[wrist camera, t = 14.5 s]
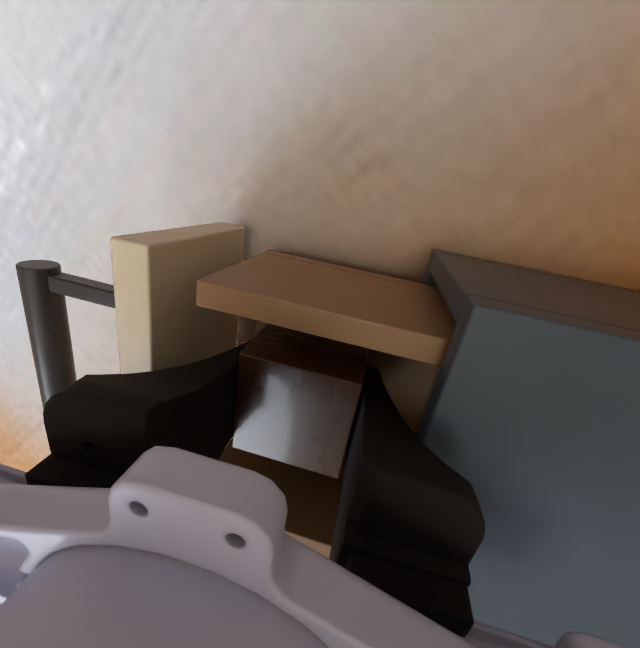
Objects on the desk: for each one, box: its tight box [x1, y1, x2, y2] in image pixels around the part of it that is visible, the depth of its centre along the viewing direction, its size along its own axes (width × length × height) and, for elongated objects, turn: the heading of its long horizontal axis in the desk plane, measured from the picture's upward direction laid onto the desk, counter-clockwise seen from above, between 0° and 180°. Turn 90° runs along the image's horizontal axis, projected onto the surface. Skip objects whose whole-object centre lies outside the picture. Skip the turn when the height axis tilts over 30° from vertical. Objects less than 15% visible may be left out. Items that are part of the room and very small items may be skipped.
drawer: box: [16, 222, 456, 559], centre depth 13 cm, size 16×11×6 cm
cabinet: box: [416, 249, 640, 648], centre depth 12 cm, size 13×12×8 cm
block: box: [232, 323, 369, 479], centre depth 13 cm, size 4×4×4 cm
